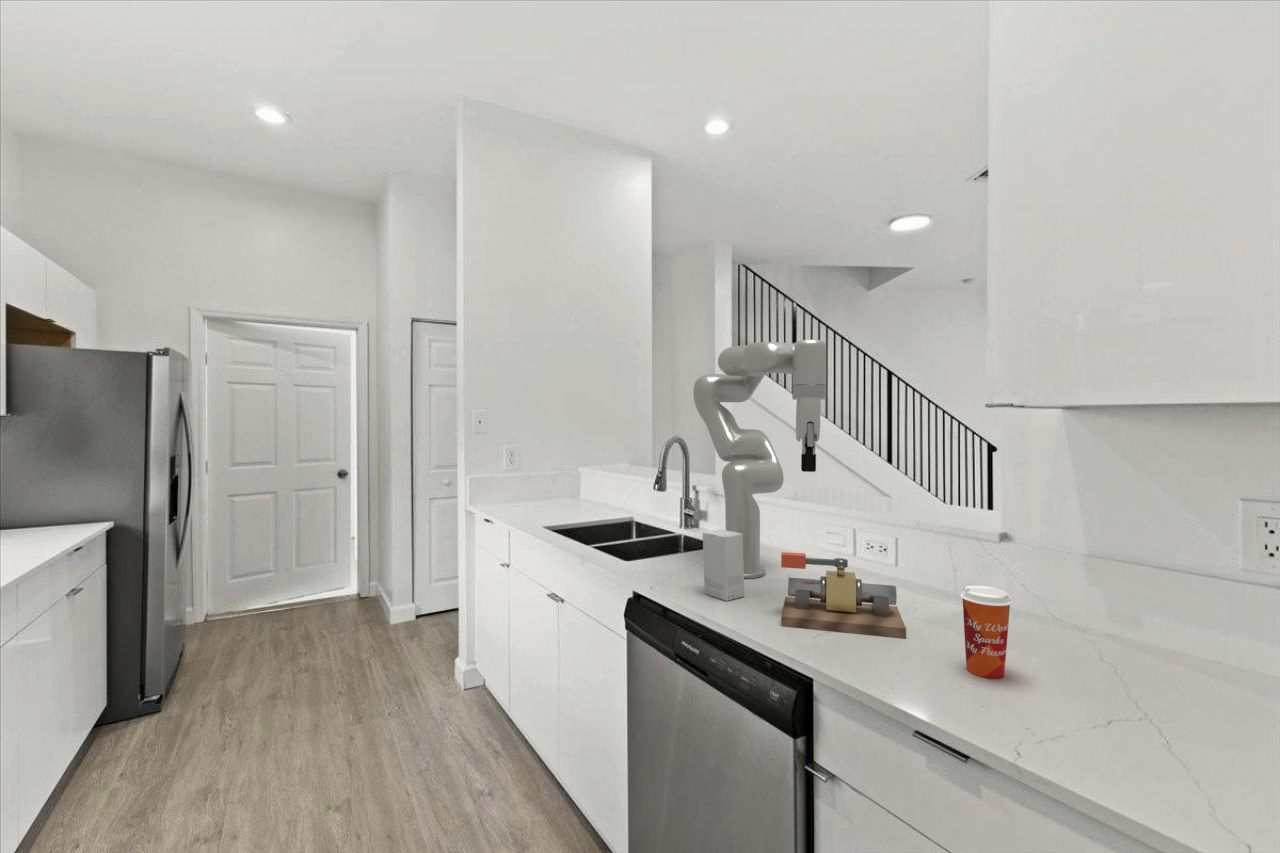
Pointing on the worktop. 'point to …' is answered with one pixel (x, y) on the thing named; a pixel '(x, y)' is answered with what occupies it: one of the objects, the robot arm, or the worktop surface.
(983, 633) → the paper cup
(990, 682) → the worktop surface
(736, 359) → the robot arm
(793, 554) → the valve lever
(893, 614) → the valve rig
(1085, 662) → the worktop surface
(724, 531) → the skincare box
